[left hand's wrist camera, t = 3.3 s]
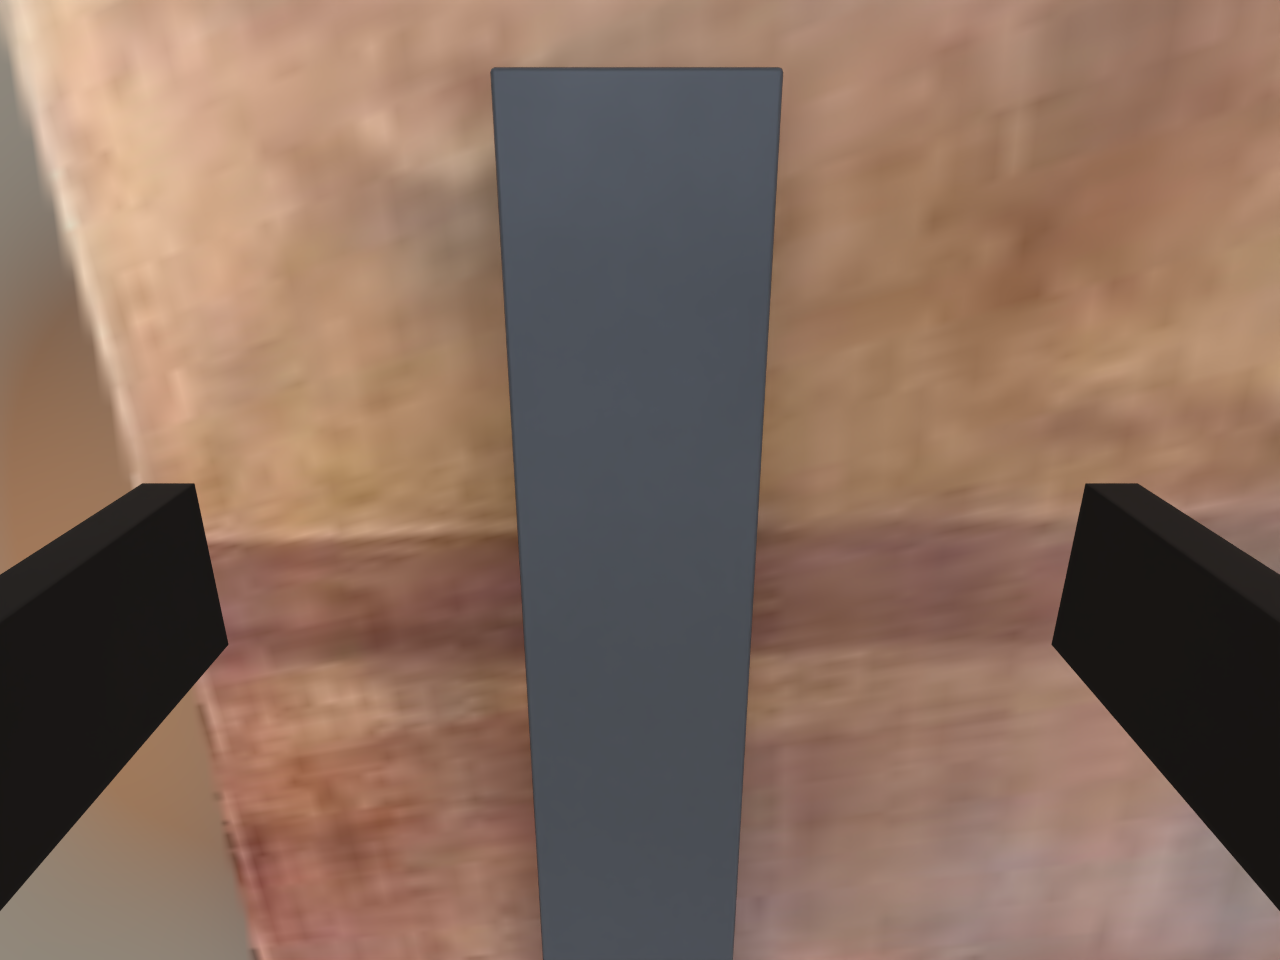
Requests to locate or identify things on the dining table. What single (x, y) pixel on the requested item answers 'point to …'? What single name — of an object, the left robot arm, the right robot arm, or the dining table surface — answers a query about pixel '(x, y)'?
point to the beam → (637, 481)
